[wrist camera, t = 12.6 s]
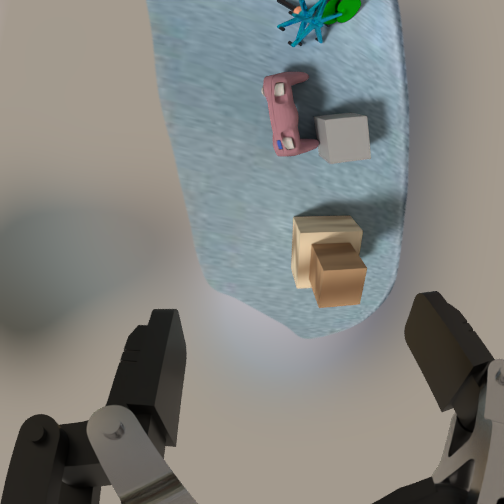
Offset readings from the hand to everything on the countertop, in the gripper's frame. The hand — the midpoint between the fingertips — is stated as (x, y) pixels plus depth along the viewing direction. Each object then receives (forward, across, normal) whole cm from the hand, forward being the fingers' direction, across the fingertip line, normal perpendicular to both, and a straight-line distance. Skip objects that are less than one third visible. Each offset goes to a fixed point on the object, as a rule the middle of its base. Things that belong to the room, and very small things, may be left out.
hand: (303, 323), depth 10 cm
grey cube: (+30, -10, -2) cm, 32 cm away
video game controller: (+30, -4, -5) cm, 31 cm away
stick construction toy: (+30, -7, -18) cm, 36 cm away
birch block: (+30, -9, +13) cm, 34 cm away
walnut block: (+25, -9, +13) cm, 30 cm away
